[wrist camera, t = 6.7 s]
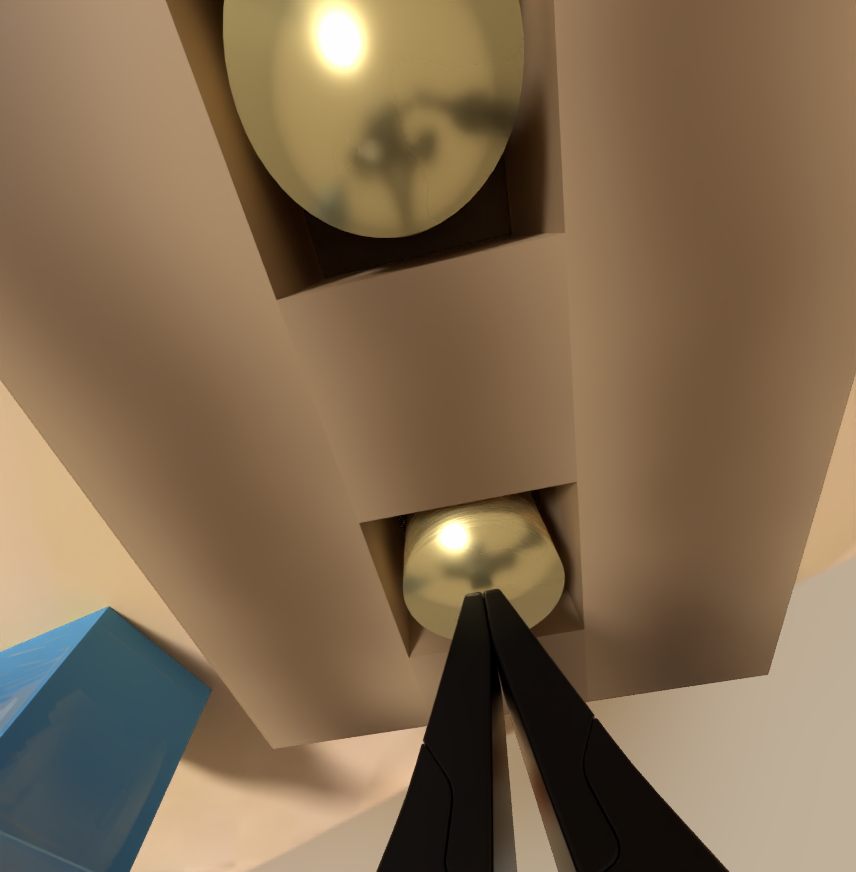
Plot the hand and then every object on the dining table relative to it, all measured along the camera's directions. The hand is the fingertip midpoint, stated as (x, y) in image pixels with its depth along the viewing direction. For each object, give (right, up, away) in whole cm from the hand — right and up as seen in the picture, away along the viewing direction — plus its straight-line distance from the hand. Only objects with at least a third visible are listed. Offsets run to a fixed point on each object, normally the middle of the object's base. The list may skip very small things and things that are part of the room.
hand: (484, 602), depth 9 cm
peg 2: (0, +2, +4) cm, 4 cm away
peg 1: (-2, +11, -1) cm, 11 cm away
